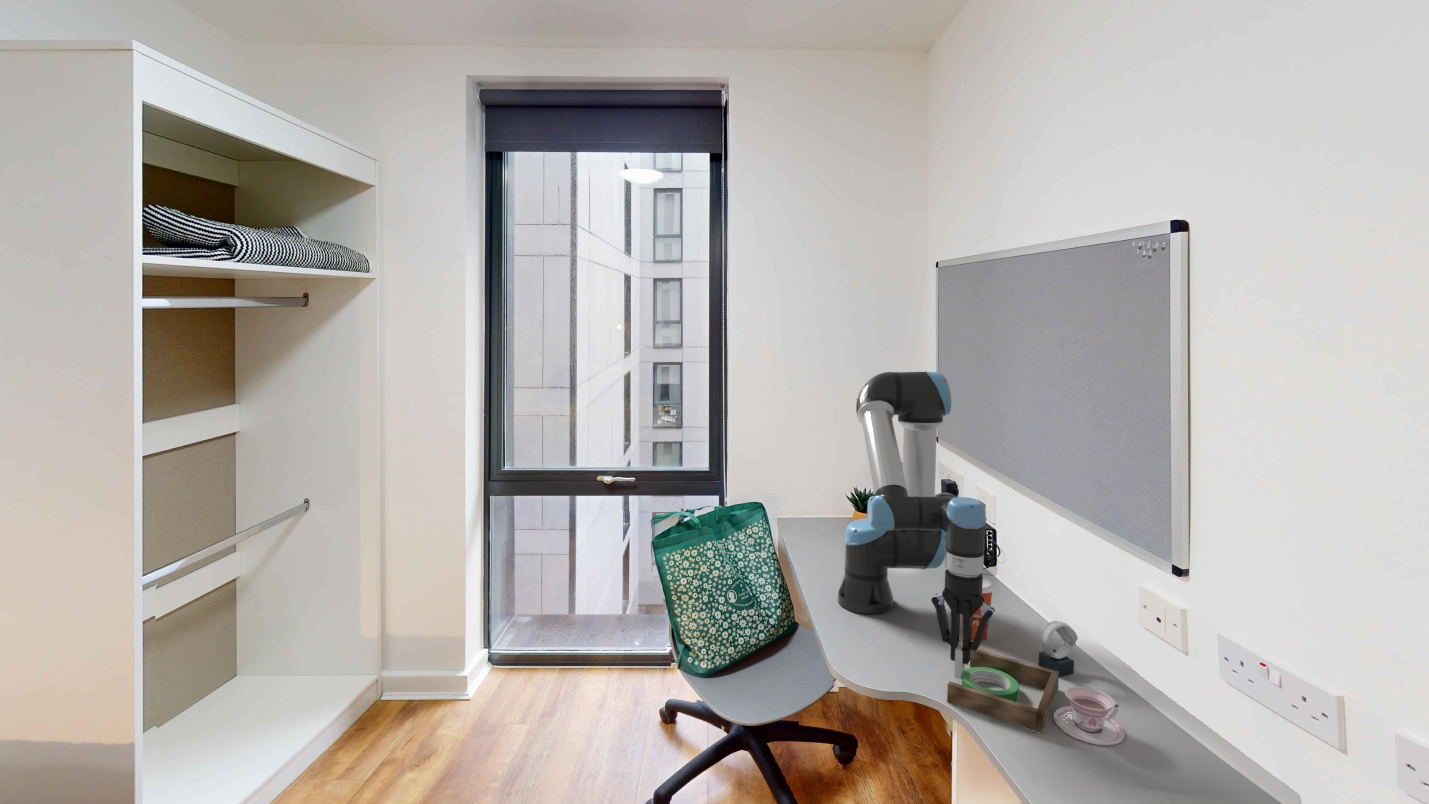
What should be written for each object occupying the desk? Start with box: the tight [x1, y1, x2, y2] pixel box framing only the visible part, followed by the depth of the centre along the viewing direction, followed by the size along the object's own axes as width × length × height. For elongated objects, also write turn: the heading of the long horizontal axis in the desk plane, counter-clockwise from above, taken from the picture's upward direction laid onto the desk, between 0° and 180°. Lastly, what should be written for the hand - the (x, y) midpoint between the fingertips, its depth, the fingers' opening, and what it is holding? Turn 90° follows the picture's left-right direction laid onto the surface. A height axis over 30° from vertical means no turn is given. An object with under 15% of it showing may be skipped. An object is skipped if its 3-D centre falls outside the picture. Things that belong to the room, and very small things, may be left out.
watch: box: [1037, 620, 1079, 678], centre depth 144 cm, size 6×8×11 cm
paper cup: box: [961, 577, 995, 641], centre depth 160 cm, size 8×8×14 cm
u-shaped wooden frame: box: [946, 648, 1060, 734], centre depth 134 cm, size 18×18×4 cm
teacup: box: [1052, 686, 1126, 747], centre depth 124 cm, size 12×12×6 cm
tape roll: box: [961, 667, 1020, 702], centre depth 136 cm, size 11×11×3 cm
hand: (959, 675), depth 140 cm, fingers closed
